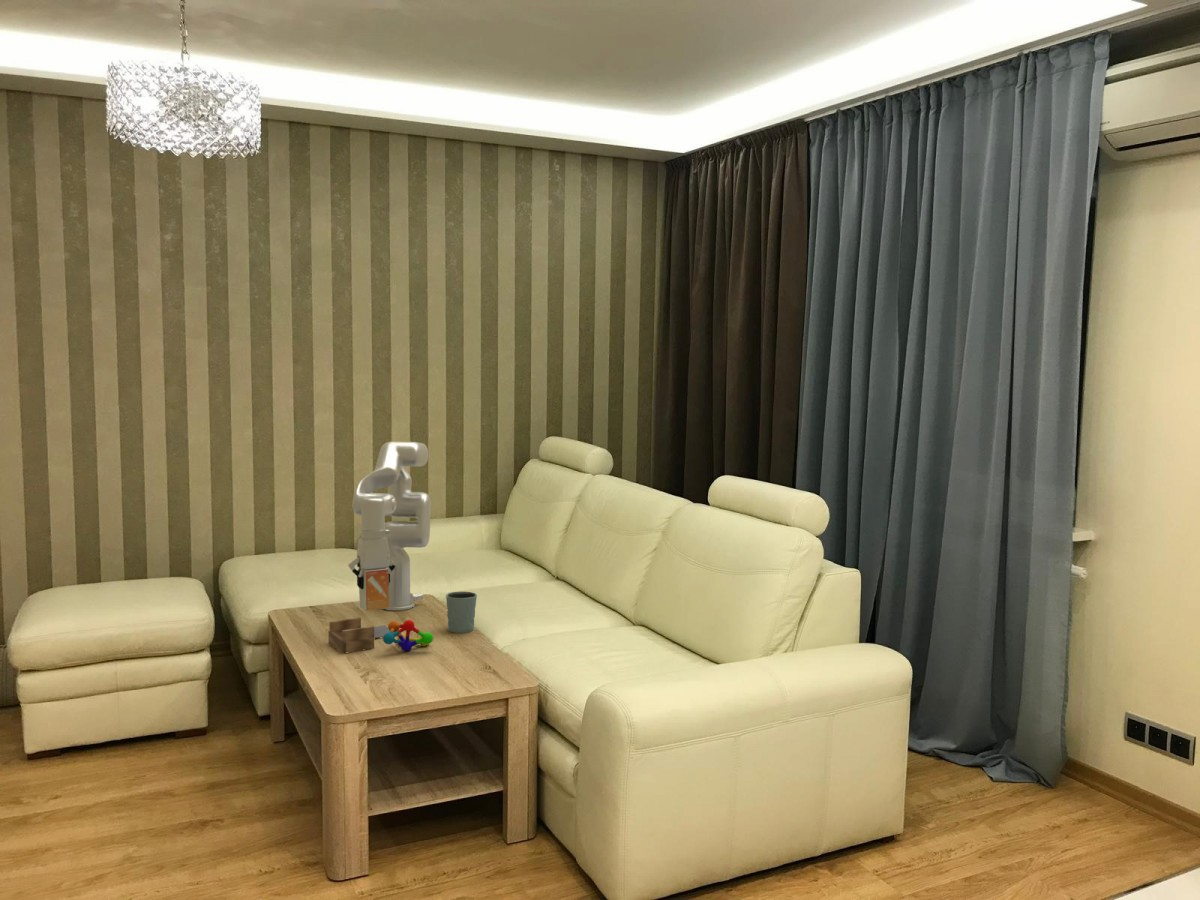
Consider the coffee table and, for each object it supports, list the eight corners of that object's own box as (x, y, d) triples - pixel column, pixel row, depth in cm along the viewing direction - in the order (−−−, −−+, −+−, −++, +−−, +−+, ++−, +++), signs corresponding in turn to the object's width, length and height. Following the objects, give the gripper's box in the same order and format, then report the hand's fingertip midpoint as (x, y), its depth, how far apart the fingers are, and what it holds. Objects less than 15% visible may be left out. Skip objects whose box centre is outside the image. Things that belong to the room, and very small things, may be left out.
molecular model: (387, 655, 328) (381, 647, 314) (389, 625, 331) (383, 616, 317) (435, 655, 329) (431, 647, 315) (436, 625, 332) (432, 616, 318)
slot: (359, 638, 334) (359, 617, 334) (374, 648, 324) (374, 626, 323) (328, 643, 329) (328, 621, 328) (342, 653, 318) (342, 631, 317)
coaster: (384, 626, 348) (384, 625, 348) (398, 635, 338) (398, 633, 338) (350, 632, 341) (350, 630, 341) (363, 641, 331) (363, 639, 331)
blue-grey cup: (440, 630, 344) (440, 595, 343) (458, 623, 353) (457, 589, 352) (465, 635, 340) (465, 599, 338) (482, 627, 348) (482, 593, 347)
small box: (366, 611, 333) (365, 571, 333) (359, 607, 339) (358, 568, 338) (389, 607, 338) (388, 568, 337) (382, 604, 343) (381, 566, 342)
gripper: (393, 530, 344) (394, 581, 346) (343, 535, 335) (344, 587, 336) (402, 533, 338) (403, 585, 340) (351, 538, 328) (352, 592, 330)
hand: (373, 586), depth 338 cm, fingers closed on small box, 8 cm apart
